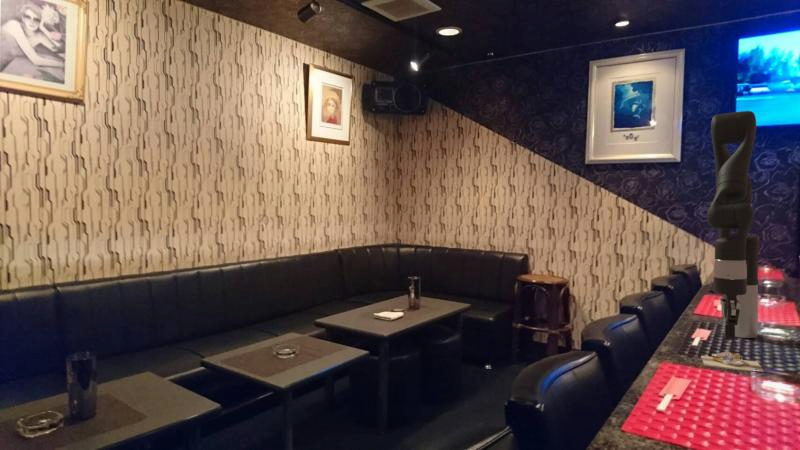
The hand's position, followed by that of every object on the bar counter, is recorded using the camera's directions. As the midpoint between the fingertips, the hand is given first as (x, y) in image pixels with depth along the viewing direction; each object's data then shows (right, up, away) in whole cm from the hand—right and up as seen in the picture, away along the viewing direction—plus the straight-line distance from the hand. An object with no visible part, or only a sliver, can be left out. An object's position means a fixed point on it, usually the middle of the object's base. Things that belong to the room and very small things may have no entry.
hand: (729, 338), depth 132 cm
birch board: (-1, -7, -2) cm, 7 cm away
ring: (+2, -6, +4) cm, 7 cm away
